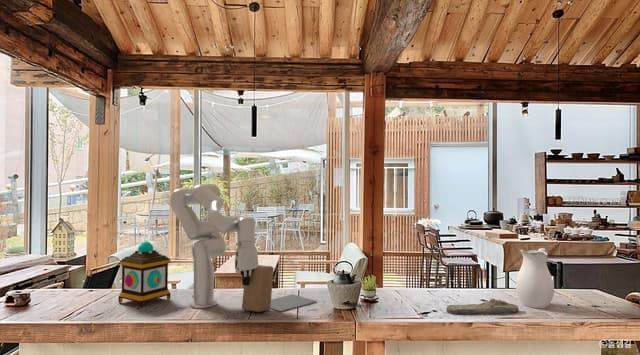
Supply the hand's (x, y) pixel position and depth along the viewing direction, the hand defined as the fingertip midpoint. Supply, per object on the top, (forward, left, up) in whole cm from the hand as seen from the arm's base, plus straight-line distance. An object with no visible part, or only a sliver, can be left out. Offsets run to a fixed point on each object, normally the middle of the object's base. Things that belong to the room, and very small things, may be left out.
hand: (245, 284), depth 187 cm
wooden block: (0, +6, -13) cm, 14 cm away
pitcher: (+88, +115, -14) cm, 145 cm away
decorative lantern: (-51, -24, -14) cm, 58 cm away
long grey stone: (+74, +82, -14) cm, 111 cm away
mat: (0, +25, -13) cm, 28 cm away
